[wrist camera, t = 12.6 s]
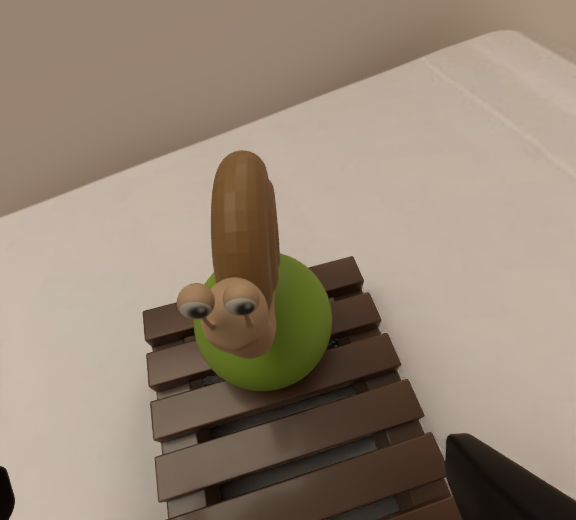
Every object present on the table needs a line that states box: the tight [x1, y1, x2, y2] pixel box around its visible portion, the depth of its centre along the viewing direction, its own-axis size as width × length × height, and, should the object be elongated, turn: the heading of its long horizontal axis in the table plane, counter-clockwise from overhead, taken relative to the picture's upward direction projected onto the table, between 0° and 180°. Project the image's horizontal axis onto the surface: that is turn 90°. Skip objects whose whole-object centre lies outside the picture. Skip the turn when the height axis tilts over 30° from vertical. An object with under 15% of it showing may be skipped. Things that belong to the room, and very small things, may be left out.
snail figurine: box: [177, 151, 332, 391], centre depth 12 cm, size 5×6×12 cm
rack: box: [143, 256, 462, 520], centre depth 17 cm, size 15×11×4 cm
